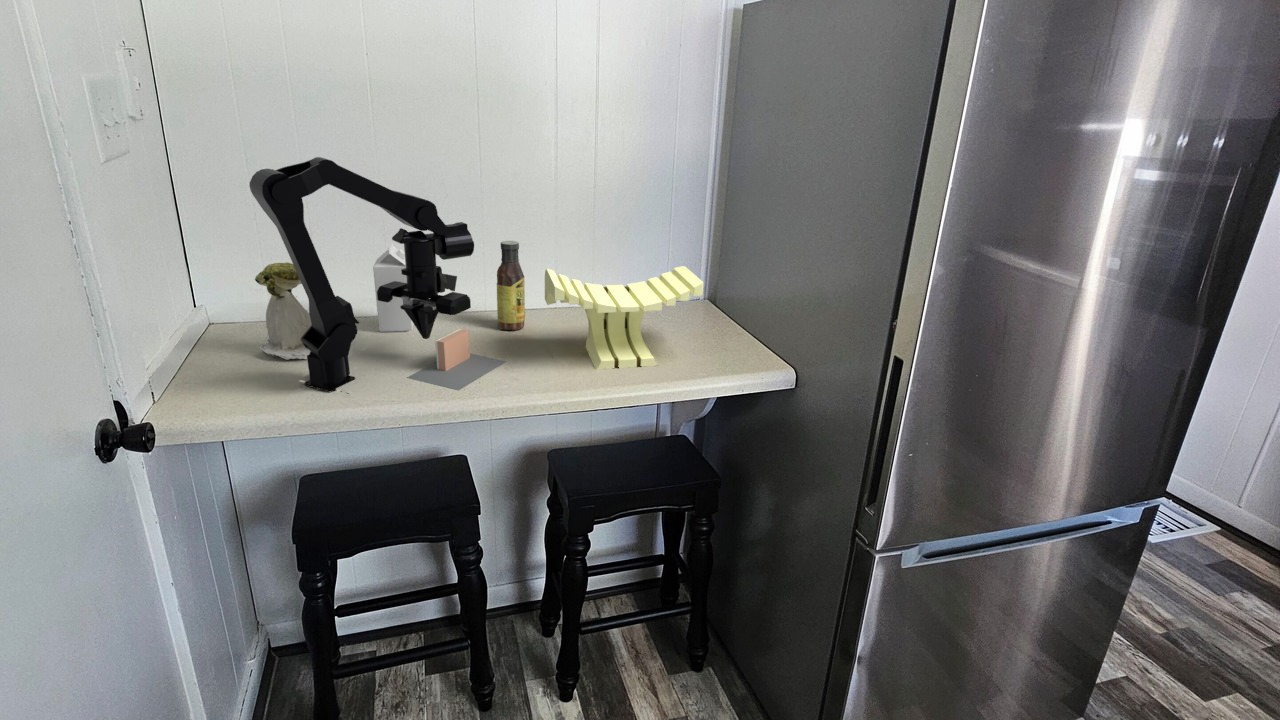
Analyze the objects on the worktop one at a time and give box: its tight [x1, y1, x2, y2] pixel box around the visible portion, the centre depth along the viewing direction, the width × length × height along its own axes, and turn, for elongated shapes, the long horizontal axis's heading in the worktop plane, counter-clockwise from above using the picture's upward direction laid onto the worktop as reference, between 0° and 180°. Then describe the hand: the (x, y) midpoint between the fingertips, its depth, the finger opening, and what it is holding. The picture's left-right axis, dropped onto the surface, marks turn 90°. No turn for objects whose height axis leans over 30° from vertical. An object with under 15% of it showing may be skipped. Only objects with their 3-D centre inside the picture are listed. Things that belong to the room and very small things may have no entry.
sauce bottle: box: [496, 240, 526, 331], centre depth 162 cm, size 7×6×20 cm
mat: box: [406, 352, 507, 391], centre depth 141 cm, size 16×12×1 cm
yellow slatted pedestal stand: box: [544, 265, 705, 370], centre depth 150 cm, size 30×16×18 cm, turn 104°
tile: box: [435, 328, 471, 371], centre depth 142 cm, size 8×2×6 cm, turn 157°
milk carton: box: [372, 240, 415, 333], centre depth 159 cm, size 7×7×19 cm
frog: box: [254, 262, 312, 360], centre depth 143 cm, size 12×13×18 cm
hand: (426, 338), depth 144 cm, fingers closed
